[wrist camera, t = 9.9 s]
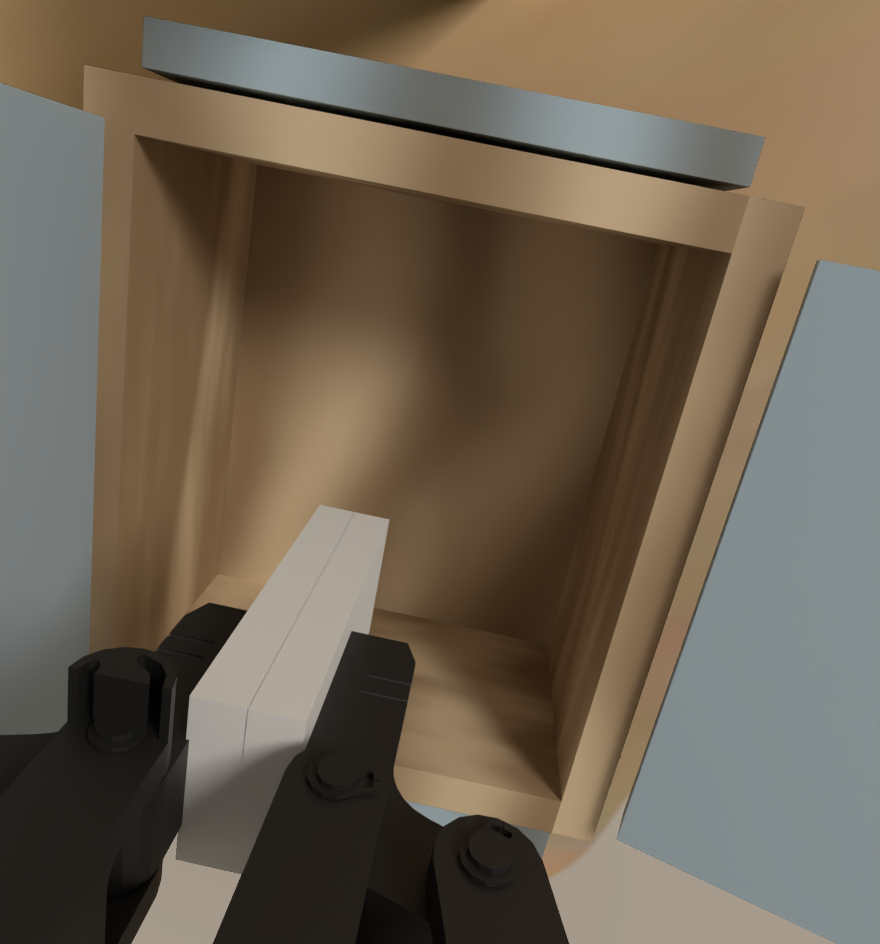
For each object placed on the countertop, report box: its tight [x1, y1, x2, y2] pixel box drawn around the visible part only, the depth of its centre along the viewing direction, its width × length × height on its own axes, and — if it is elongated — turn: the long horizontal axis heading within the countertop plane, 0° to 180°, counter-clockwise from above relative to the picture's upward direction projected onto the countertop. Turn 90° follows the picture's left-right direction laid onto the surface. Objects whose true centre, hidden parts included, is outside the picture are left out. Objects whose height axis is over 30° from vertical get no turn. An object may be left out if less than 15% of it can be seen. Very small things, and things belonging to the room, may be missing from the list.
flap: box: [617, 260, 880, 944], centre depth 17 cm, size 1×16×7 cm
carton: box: [83, 16, 805, 858], centre depth 23 cm, size 16×20×9 cm
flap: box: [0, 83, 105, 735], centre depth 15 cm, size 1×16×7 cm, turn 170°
